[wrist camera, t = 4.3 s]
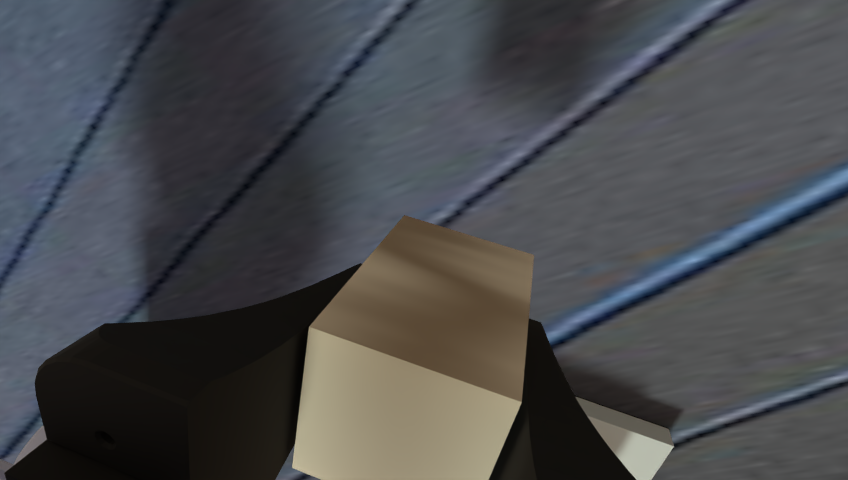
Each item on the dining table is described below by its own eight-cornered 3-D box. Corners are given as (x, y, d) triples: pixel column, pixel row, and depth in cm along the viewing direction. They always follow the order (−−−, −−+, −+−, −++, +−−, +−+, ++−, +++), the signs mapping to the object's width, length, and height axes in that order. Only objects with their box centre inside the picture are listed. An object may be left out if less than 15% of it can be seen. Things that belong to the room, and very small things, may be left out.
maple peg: (382, 320, 15) (292, 467, 10) (404, 215, 14) (308, 326, 8) (495, 359, 15) (463, 537, 9) (534, 255, 13) (521, 402, 8)
